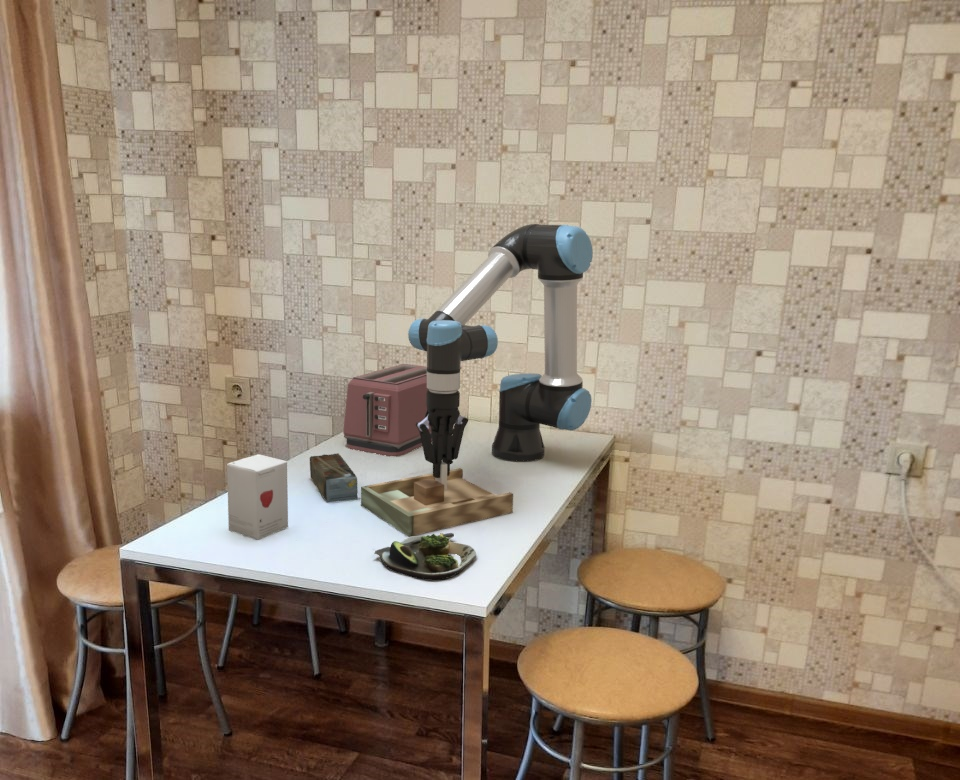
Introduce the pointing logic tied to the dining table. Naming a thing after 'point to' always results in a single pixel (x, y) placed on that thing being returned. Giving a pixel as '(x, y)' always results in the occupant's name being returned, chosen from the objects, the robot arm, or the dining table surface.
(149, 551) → the dining table surface
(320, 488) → the beverage carton
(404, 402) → the toaster
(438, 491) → the block
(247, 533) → the supplement box
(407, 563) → the salad plate
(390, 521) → the box
